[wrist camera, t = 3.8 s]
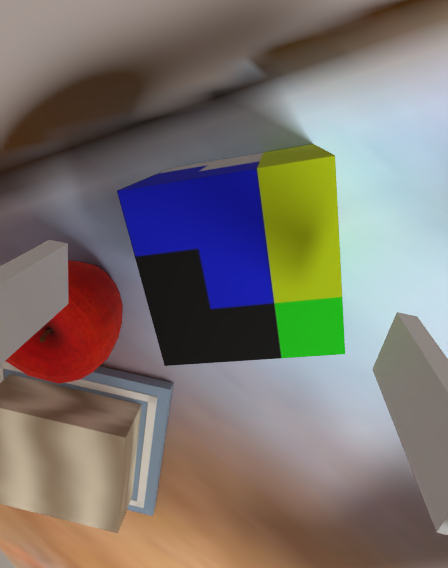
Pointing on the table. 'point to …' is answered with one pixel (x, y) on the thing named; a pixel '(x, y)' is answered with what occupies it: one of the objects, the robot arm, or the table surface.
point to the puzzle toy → (241, 256)
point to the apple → (75, 329)
